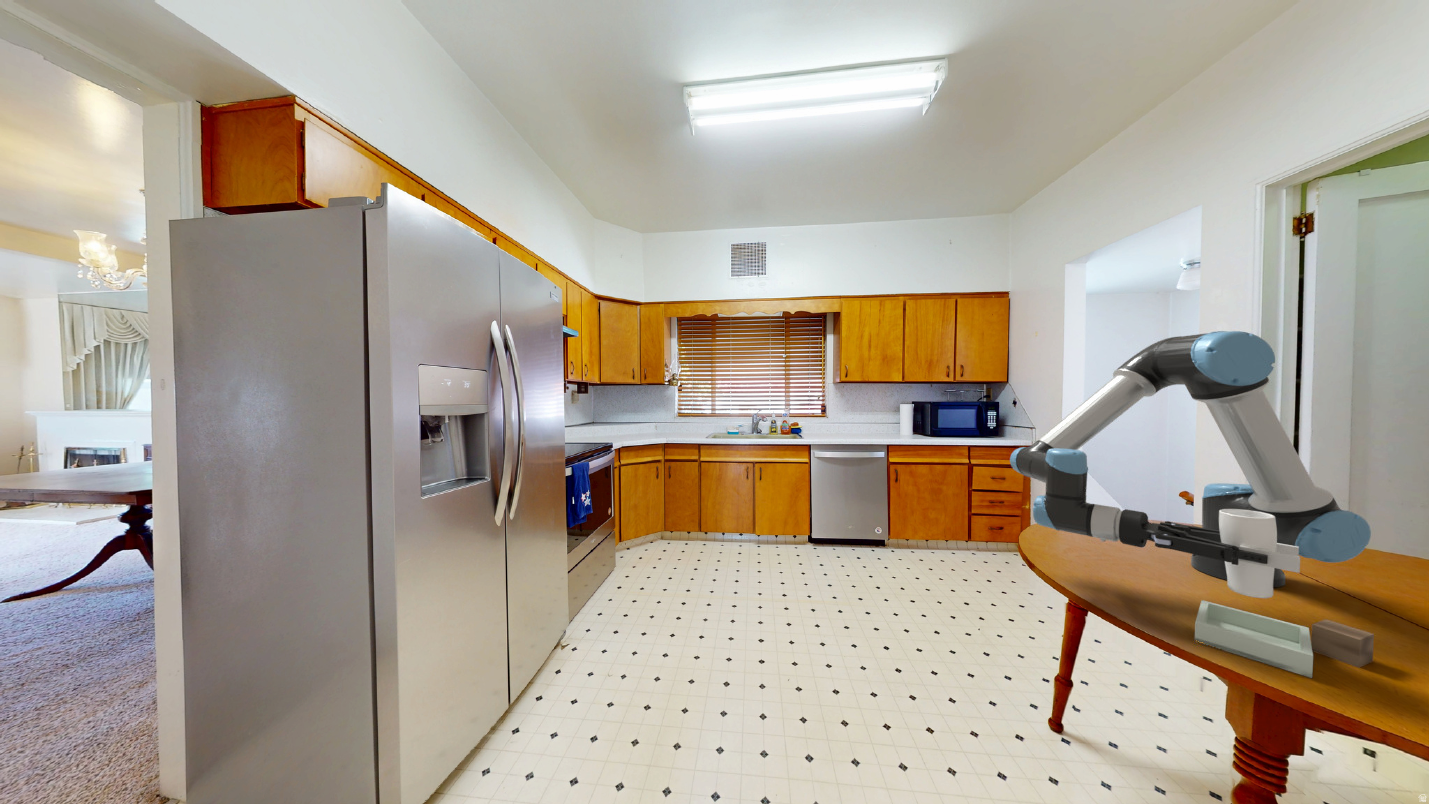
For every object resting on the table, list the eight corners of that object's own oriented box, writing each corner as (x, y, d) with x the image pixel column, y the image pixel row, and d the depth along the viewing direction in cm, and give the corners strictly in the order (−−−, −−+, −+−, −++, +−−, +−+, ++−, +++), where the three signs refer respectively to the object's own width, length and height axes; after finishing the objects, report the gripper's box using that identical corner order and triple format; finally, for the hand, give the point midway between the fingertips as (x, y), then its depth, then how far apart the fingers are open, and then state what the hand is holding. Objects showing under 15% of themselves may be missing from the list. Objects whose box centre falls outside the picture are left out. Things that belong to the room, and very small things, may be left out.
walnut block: (1324, 645, 79) (1325, 619, 79) (1372, 661, 74) (1373, 634, 74) (1311, 650, 78) (1312, 624, 77) (1358, 668, 73) (1359, 639, 73)
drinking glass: (1286, 605, 75) (1282, 520, 75) (1227, 595, 79) (1223, 515, 79) (1272, 590, 80) (1268, 511, 80) (1217, 582, 84) (1213, 507, 84)
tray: (1201, 617, 89) (1201, 600, 89) (1307, 647, 78) (1308, 627, 78) (1194, 641, 81) (1195, 621, 81) (1312, 678, 71) (1313, 656, 70)
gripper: (1129, 532, 99) (1296, 565, 81) (1110, 553, 88) (1300, 597, 69) (1130, 501, 99) (1298, 526, 81) (1111, 517, 87) (1302, 552, 69)
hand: (1298, 559), depth 75 cm, fingers closed on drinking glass, 6 cm apart
